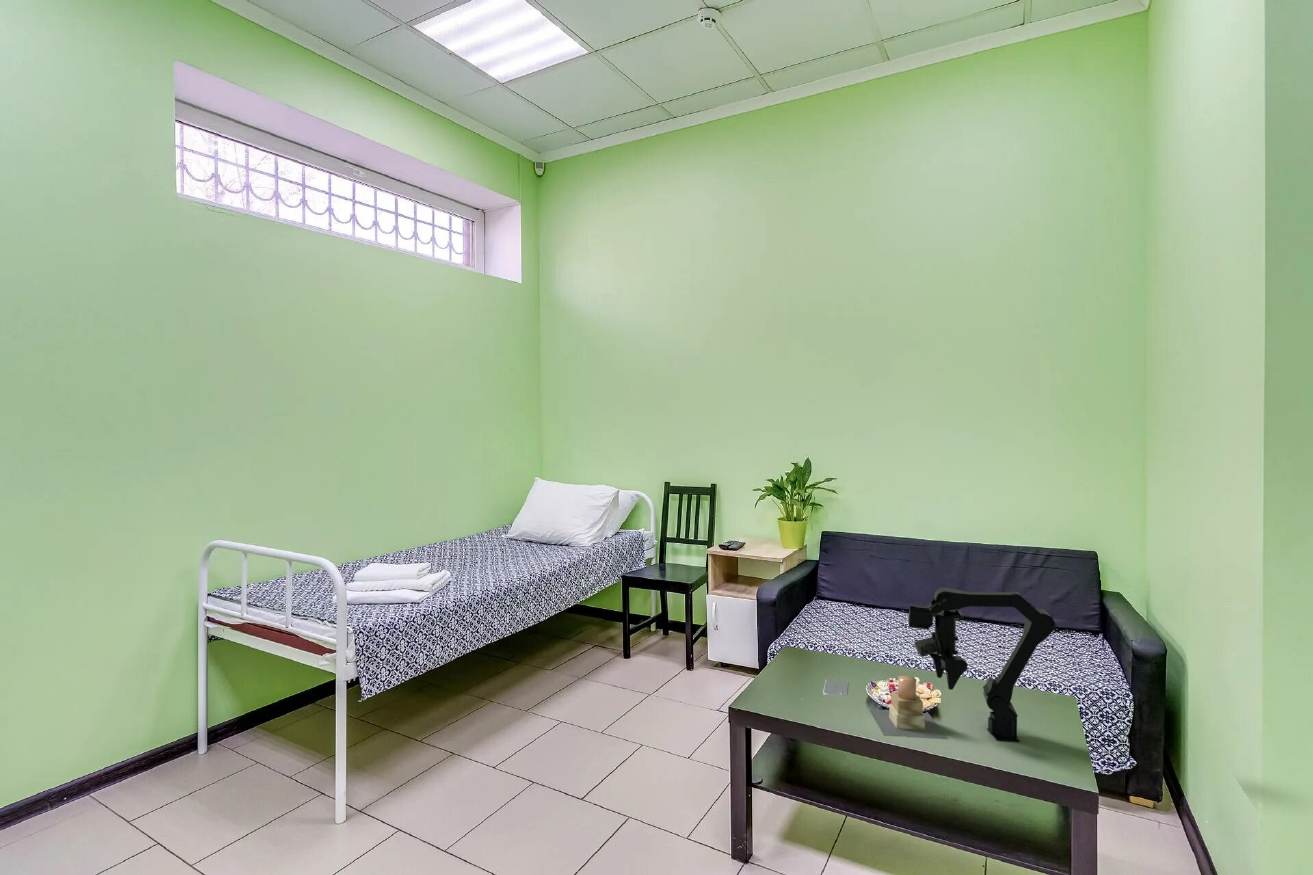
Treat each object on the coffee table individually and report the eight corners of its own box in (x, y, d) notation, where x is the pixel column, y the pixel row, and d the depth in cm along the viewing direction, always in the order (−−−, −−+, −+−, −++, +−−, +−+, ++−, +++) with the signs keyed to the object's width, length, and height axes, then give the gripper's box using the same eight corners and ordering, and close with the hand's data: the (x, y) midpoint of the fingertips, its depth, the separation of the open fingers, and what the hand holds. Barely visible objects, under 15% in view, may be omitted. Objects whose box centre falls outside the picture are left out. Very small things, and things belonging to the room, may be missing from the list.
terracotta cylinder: (912, 693, 190) (913, 675, 190) (918, 700, 185) (918, 681, 185) (896, 692, 191) (896, 674, 191) (900, 699, 186) (901, 680, 186)
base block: (916, 718, 192) (916, 705, 192) (924, 729, 184) (924, 716, 184) (889, 716, 192) (889, 703, 192) (896, 728, 184) (896, 714, 184)
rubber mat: (927, 713, 196) (927, 712, 196) (948, 740, 178) (948, 738, 178) (868, 710, 198) (868, 708, 198) (883, 736, 180) (883, 735, 180)
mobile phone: (848, 680, 221) (846, 696, 207) (848, 682, 221) (846, 699, 207) (825, 677, 224) (822, 692, 210) (825, 679, 224) (822, 695, 210)
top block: (915, 705, 191) (915, 692, 191) (922, 715, 184) (922, 701, 184) (891, 704, 192) (891, 691, 192) (898, 714, 185) (898, 700, 185)
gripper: (907, 621, 197) (907, 670, 197) (927, 639, 179) (927, 694, 178) (944, 622, 196) (944, 672, 196) (968, 641, 178) (968, 696, 177)
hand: (944, 683), depth 187 cm, fingers open, 9 cm apart
